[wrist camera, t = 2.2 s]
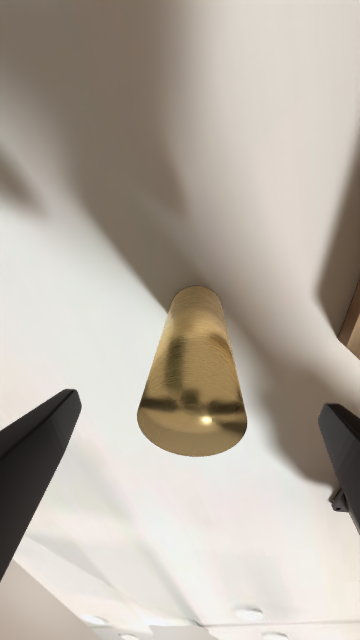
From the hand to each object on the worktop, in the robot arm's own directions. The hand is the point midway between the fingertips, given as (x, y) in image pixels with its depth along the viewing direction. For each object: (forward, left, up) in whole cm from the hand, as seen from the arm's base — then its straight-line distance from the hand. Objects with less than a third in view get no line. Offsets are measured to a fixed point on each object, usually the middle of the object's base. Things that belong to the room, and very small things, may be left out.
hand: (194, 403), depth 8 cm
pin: (0, 0, -8) cm, 8 cm away
